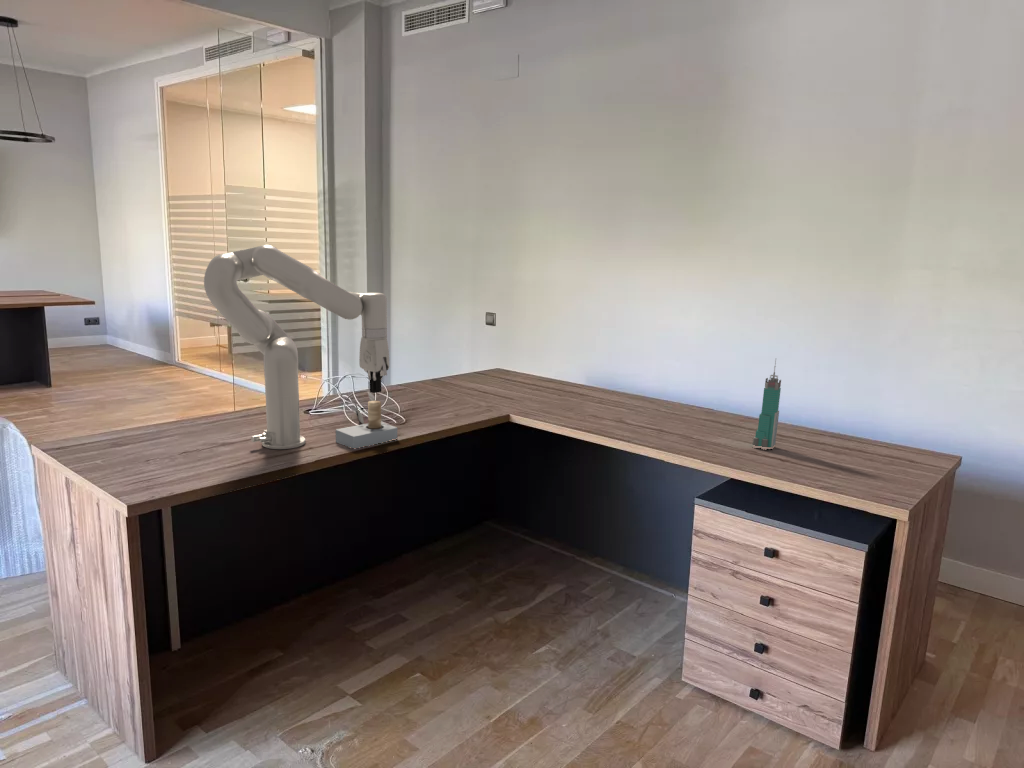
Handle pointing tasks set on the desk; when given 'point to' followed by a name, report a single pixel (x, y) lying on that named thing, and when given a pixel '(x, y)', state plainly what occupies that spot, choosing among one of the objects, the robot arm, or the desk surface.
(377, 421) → the peg
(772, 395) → the building
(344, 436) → the board
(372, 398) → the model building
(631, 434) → the desk surface
